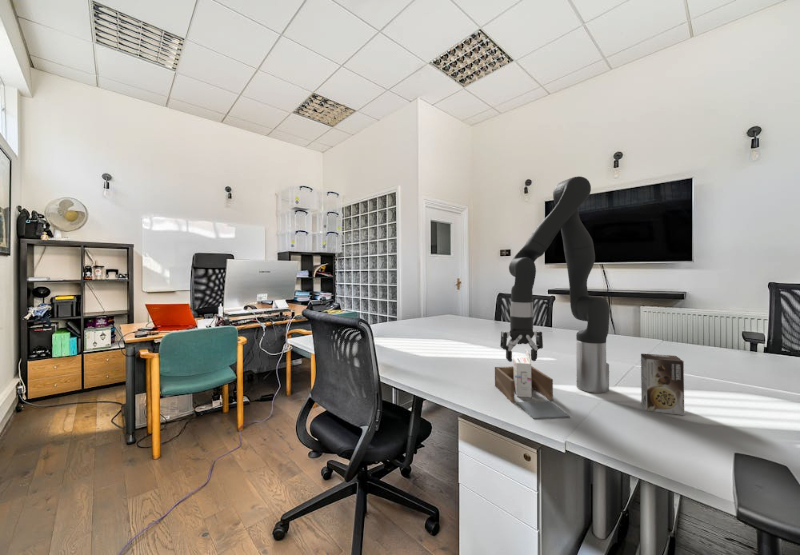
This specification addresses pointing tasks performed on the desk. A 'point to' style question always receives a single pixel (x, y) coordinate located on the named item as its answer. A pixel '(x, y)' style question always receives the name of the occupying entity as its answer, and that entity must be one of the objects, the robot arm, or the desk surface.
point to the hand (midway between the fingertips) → (521, 360)
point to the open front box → (538, 382)
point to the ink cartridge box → (522, 376)
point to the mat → (543, 409)
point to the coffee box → (662, 383)
